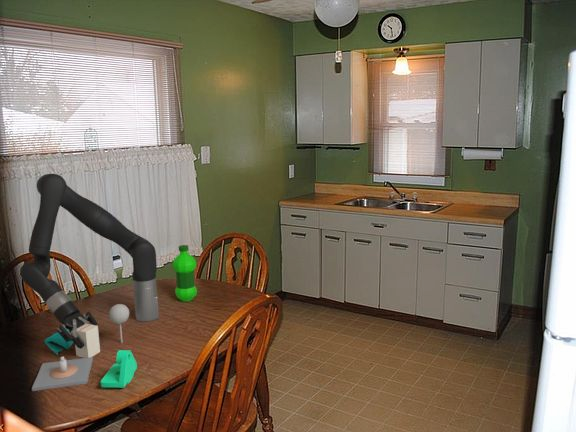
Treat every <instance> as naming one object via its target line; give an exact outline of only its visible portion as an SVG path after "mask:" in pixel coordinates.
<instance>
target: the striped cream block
mask: <svg viewBox="0 0 576 432" xmlns="http://www.w3.org/2000/svg"><path fill="white" fill-rule="evenodd" d="M98 333H99V326H98V325H91V324H85V323H84V325H83V326H81V327H79V328H77V337H79V338H80V340H81V341H82V342H83V344H84V347H83V348H81V349H80V348H78V347H77V346H76V345H75V344H74V345H75V347H74V348H75V354H76V357H79V358H90V357H93V358H94V356H96V355H98V354H99V353H100V352H101V347H100V337H99V334H100V333H99V334H98Z"/></svg>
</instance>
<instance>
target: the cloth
mask: <svg viewBox="0 0 576 432" xmlns="http://www.w3.org/2000/svg"><path fill="white" fill-rule="evenodd" d="M66 330H67V331H68V332H69V330H68V329H66ZM43 342H44V343H45V345H47V346H48V348H49V349H50V350H51V351H53V353H54V354H56V355H57V356H59V355H58V354H59V353H60V352H63V351H64V349H66V350H69V349H70V347H71V346H72V345H73V344H74V342H73V341H69V342H66V341H65V340H64V339H63V338H62V336H61V335H60V334H59V333H58V332H55V333H54V334H52V335H51V336H49V337H47V338H45V339H44V340H43Z"/></svg>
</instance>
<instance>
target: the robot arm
mask: <svg viewBox="0 0 576 432" xmlns="http://www.w3.org/2000/svg"><path fill="white" fill-rule="evenodd" d="M36 190H37V192H38V194H39V195H40V198H39V199H40V200H39V202H40V203H39V209H38V213H37V217H36V220H35V222H34V225H33V229H32V231H31V235H30V239H29V245H28V253H29V254H30V255H32V258H33V259H32V260H33V261H32V262H31V261H30V262H26V263H24V264H22V265H21V267H20V270H19V276H20V278H21V280H22V281H23V282H24V283H25V284H26V285H27V286H28V287H29V288H31V289H32V291H34V292H35V293H37V294H38V295H39V296H40V298H41V299H42V301H43V302H44V303H45V304H46V306H47V307H48V309H49V311H50V312H51V313H52V314H53V316H54V317H55V318H56V320H57V321H58V322H59V323H60V324H59V326H58V327H57V329H56V333H59V334H60V335H61V336H62V338H63V339H64V340H65V341H66V342H69V341H73V344H74V345H76V346H77V347H78V348H80V349H81V348H83V347H84V344H83V342H82V341H81V340H80V338H79V337H77V328H79V327H81V326H83V325H84V324H91V325H96V326H98V321H97V320H96V319H95V318H94V316H93V315H92V313H91V312H90V311H87V312H86V313H84V314H83V313H81V312H80V309H79V308H78V306H77V305H76V304H75V302H74V301H73V300H72V298H71V297H70V296H69V294H68V293H66V292H65V291H64V290H63V288H62V287H61V286H60V284H58V282H57V281H56V280H53V279H50V278H48V277H49V275H50V272H51V252H50V251H51V247H52V242H53V236H54V233H55V226H56V221H57V217H58V214H59V210H60V208H61V207H62V208H63V209H64V210H66V211H67V212H68V213H69V214H71V215H72V217H74V218H75V219H76V220H78V221H79V222H80V223H82V224H83V225H84V226H85V227H87V228H88V229H89V230H91V231H92V232H94V233H95V234H97V235H99V236H100V237H102V238H104V239H106V240H108V241H111V242H114V243H115V244H116V245H118V246H119V247H121V249H123V250H124V251H125V252H126V253H127V254H128V255H129V256H130V257H131V258H132V269H133V271H132V273H131V275H132V276H131V277H132V286H133V287H132V288H133V289H132V290H133V300H134V310H135V311H134V313H135V314H134V315H135V320H136V321H137V322H138V321H139V322H152V321H155V320H158V319H160V315H159V314H160V313H159V312H160V311H159V298H158V288H157V267H158V266H157V252H156V249H155V248H156V247H155V246H154V244H152V243H151V242H150V241H149V240H148V239H146V238H144V237H142V236H140V235H138V234H137V233H135V232H133V231H132V230H130V229H129V228H127V227H126V226H125V225H124V224H123V223H122V222H121V221H120V220H119V219H118V218H116V217H115V216H114V214H111V212H109V211H108V210H106V209H105V208H104V207H102V206H100V205H99V204H97V203H96V202H94V201H92V200H90V199H89V198H87V197H84V196H82V195H81V194H79V193H77V192H76V191H74V190H73V188H71V187H70V186H69V185H68V183H67V182H66V179H64V177H62V176H61V175H60V174H57V173H46V174H43V175H42V176H41V175H40V177H39V178H38V180H37V182H36ZM66 329H68V330H69V332H68V331H67V330H66ZM98 334H99V338H101V334H100V332H98Z"/></svg>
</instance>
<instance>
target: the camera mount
mask: <svg viewBox="0 0 576 432" xmlns="http://www.w3.org/2000/svg"><path fill="white" fill-rule="evenodd" d="M115 359H116V363H113V365H112V366H111V367H110V368H109V370H108V371H107V372H106V374H105V375H104V376H103V378H102V379H101V380H100V386H101V388H121V389H122V388H125V387H126V385H128V384H130V382H131V381H132V380H133V378H134V373H135V372H136V370H137V369H138V364H137V361H136V359H135V357H134V355H133V353H132V350H129V349H128V350H126V349H125V350H124V349H123V350H122V349H120V350H118V351H117V353H116V358H115Z"/></svg>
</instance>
